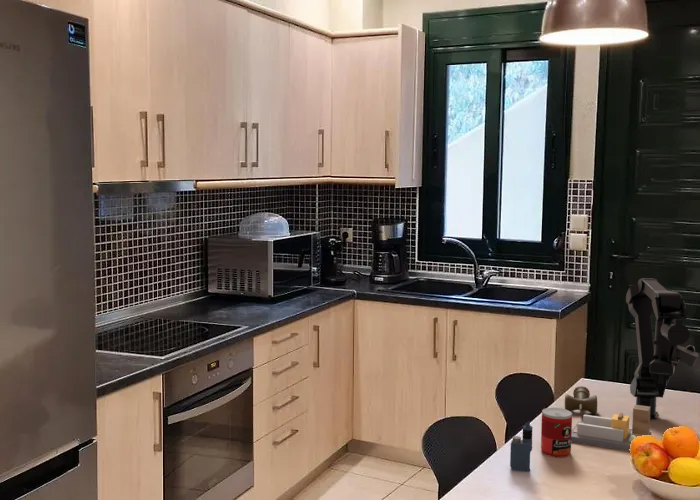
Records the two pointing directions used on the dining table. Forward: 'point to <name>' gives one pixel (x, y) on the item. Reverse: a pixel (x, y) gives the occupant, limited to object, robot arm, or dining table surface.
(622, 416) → the knob
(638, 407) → the walnut block
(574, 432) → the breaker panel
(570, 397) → the kendama
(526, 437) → the vaping device
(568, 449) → the canned food
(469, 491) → the dining table surface
